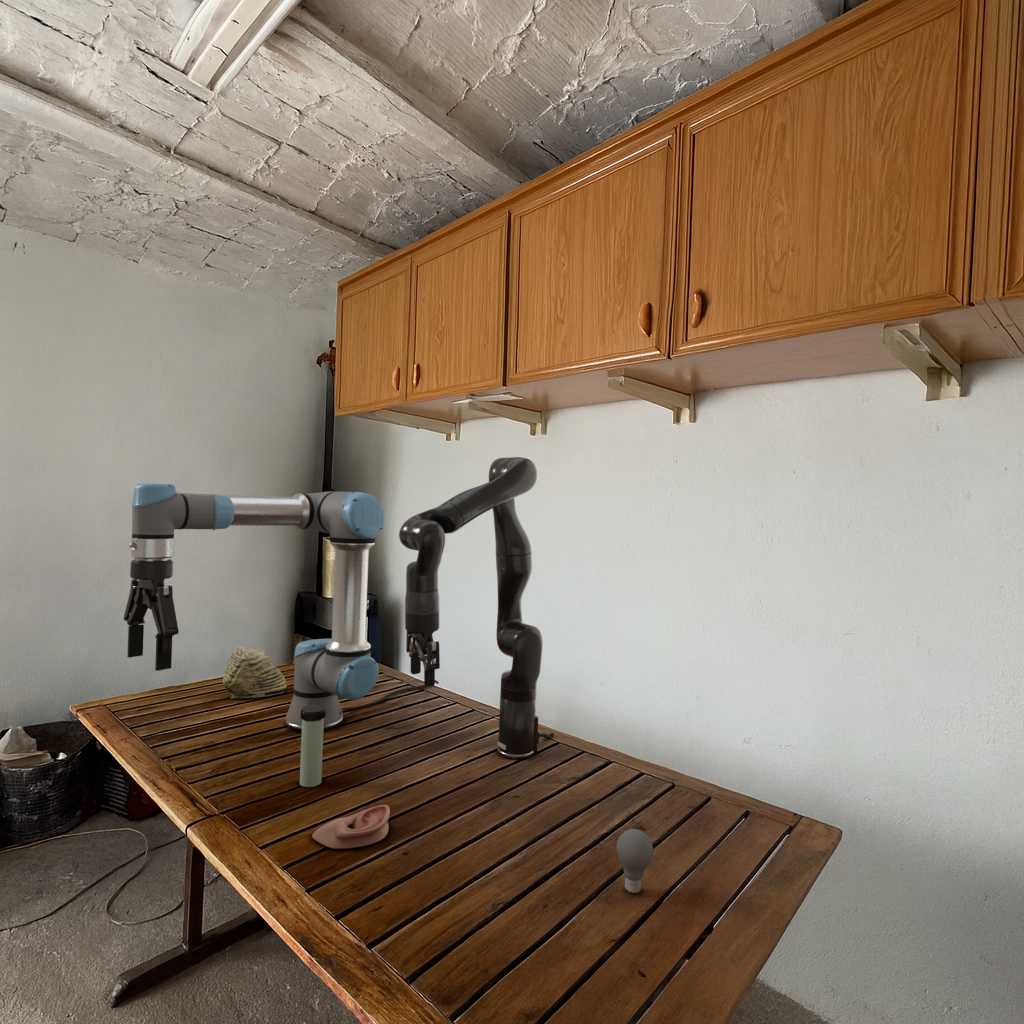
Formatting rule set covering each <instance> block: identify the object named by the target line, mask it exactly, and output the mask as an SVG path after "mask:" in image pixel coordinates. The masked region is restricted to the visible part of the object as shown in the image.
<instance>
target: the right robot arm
mask: <svg viewBox="0 0 1024 1024" xmlns="http://www.w3.org/2000/svg"><path fill="white" fill-rule="evenodd" d="M537 480H538V470H537V466H536V464H535V463H534V462H533V461H532V460H531V459H529V458H526V457H521V456H514V457H513V456H511V457H499V458H496V459H494V460H493V461H492V463H491V464H490V467H489V471H488V481H487V482H486V483H484V484H481V485H478V486H475V487H472V488H468V489H466V490H464V491H462V492H460V493H458V494H456V495H454V496H452V497H451V498H449V499H448V500H446V501H444V502H443V503H441V504H439V505H438V506H436V507H433V508H430V509H428V510H425V511H423V512H420V513H419V512H418V513H417V514H415V515H413V516H410V517H409V518H408V519H407V520H405V521H404V522H403V523H402V525H401V527H400V529H399V532H398V537H399V541H400V543H401V544H402V546H404V547H405V548H406V549H408V550H413V551H417V558H416V560H415V561H411V562H410V563H408V564H407V566H406V570H405V571H406V573H405V597H404V628H405V629H404V630H406V639H405V640H406V642H405V643H406V644H405V645H406V646H405V651H406V653H407V654H408V657H409V658H410V674H411V675H418V674H421V672H422V669H421V668H422V665H423V685H425V686H426V687H425V688H430V687H434V686H435V684H436V683H435V680H436V670H440V669H441V666H440V665H441V663H440V662H441V660H440V657H441V656H440V642H439V640H438V641H434V636H433V634H434V633H435V632H437V631H438V630H439V629H440V592H439V569H440V566H441V563H442V559H443V554H444V550H445V546H446V535H447V534H449V535H450V534H453V533H456V532H458V531H459V530H461V529H462V528H464V527H466V526H467V525H468V524H470V523H471V522H473V521H474V520H476V519H478V518H479V517H480V516H482V515H484V514H485V513H487V512H489V511H490V510H492V514H493V527H494V538H495V539H494V541H495V568H496V581H497V582H496V585H497V615H496V620H497V621H496V645H497V647H498V650H499V651H500V652H501V653H502V654H503V655H505V656H507V657H509V658H512V663H511V664H512V665H511V669H509V670H505V671H503V672H502V673H501V675H500V693H499V716H498V736H497V737H498V738H497V743H496V744H497V753H498V754H499V755H500V756H502V757H504V758H507V759H513V760H523V759H527V758H530V757H532V756H534V755H537V754H538V745H540V738H544V739H546V740H548V739H550V738H552V737H554V736H555V732H553V731H552V732H550V733H548V734H547V733H546V732H540V731H539V716H538V715H536V711H537V710H536V709H537V691H538V689H537V687H538V679H539V678H540V675H541V669H542V661H543V660H542V659H543V651H544V639H543V634H542V632H541V630H540V629H539V628H538V627H537V626H536V625H533V624H530V623H526V622H524V621H523V613H522V612H523V610H522V609H523V607H522V605H523V597H524V594H525V592H526V589H527V587H528V586H529V583H530V580H531V577H532V574H533V565H534V564H533V547H532V543H531V540H530V537H529V536H528V534H527V532H526V529H525V528H524V526H523V524H522V522H521V521H520V519H519V516H518V513H517V508H516V507H517V506H516V498H517V497H519V496H522V495H525V494H527V493H529V492H530V491H532V490H533V488H534V487H535V486H536V484H537Z"/></svg>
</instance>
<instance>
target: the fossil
mask: <svg viewBox="0 0 1024 1024" xmlns="http://www.w3.org/2000/svg"><path fill="white" fill-rule="evenodd" d="M222 676H223V677H222V685H223V687H224V688H225V690H226V691H228V693H229V698H230V699H250V698H264V697H271V696H275V695H281V694H284V693H285V691H286V689H287V687H288V686H287V680H286V678H285V676H284V674H283V673H282V672H281V669H279V668H278V667H277V665H276V663H275V662H274V660H273V659H272V658H271V657H270V656H269V655H268V654H267V653H266V652H265V650H264V649H263V648H260V647H258V648H251V647H247V646H246V647H245V646H238V647H237V648H236V649H235V650H233V651H232V653H231V656H230V657H229V659H228V660H227V663H226V666H225V668H224V671H223V675H222Z"/></svg>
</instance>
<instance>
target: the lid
mask: <svg viewBox="0 0 1024 1024" xmlns="http://www.w3.org/2000/svg"><path fill="white" fill-rule="evenodd" d="M325 715H326V707H325V706H323V705H307V706H304V707H302V708H301V716H300V717H301V719H302V720H305V721H317V720H321V719H323V718H325Z"/></svg>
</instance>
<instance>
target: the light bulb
mask: <svg viewBox="0 0 1024 1024" xmlns="http://www.w3.org/2000/svg"><path fill="white" fill-rule="evenodd" d="M615 849H616V854H617V857H618V859H619V861H620V863H621V865H622V867H623V873H624V874H623V875H624V876H625V878H624V888H625V890H627V891H628V892H630V893H634V894H635V893H639V892H640V891H641V889H642V887H641V886H642V879H643V877H644V875H645V871H646V868H647V867H648V866H649V864H650V863H651V861H652V859H653V855H654V847H653V843H652V841H651V838H649V836H648V835H647V834H646V833H645V832H643V831H642V830H641V829H636V828H629V829H627V830H625V831H623V832H622V833H621V834H620V835H619V837H618V839H617V841H616V847H615Z"/></svg>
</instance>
